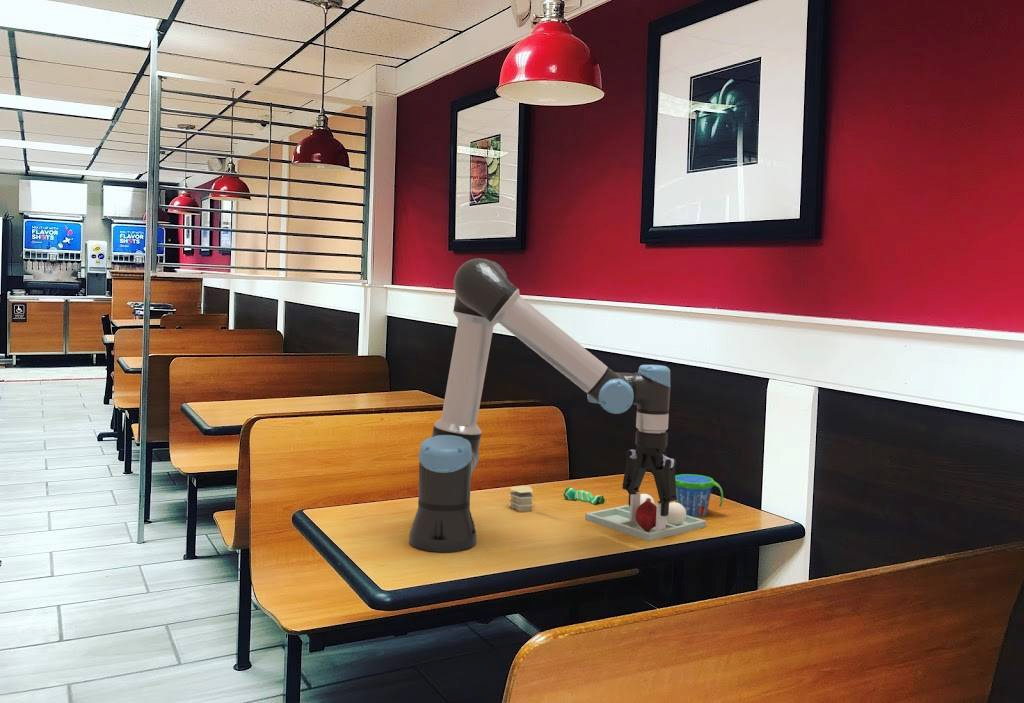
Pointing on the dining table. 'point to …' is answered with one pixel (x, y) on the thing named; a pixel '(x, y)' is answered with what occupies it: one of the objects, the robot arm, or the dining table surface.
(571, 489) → the candy
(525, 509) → the layered cracker stack
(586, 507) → the dining table surface
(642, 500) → the egg far left
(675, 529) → the egg tray
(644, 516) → the onion
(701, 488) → the snack cup
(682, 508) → the egg far right
